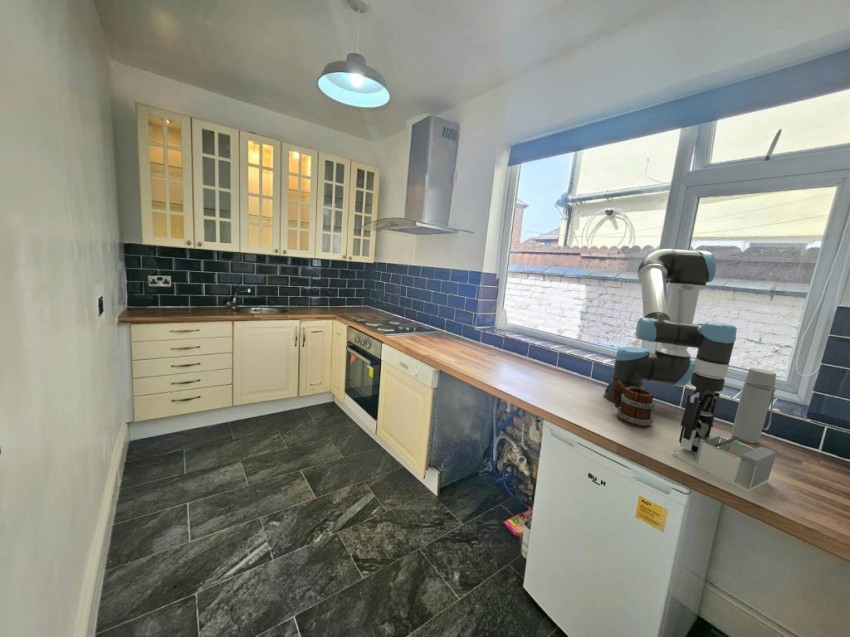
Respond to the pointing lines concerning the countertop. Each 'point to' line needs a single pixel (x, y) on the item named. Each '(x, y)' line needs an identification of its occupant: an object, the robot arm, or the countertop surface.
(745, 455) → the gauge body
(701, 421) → the beverage can
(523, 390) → the countertop surface
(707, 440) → the grey angled piece
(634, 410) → the mug
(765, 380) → the water bottle
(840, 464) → the countertop surface
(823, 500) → the countertop surface
